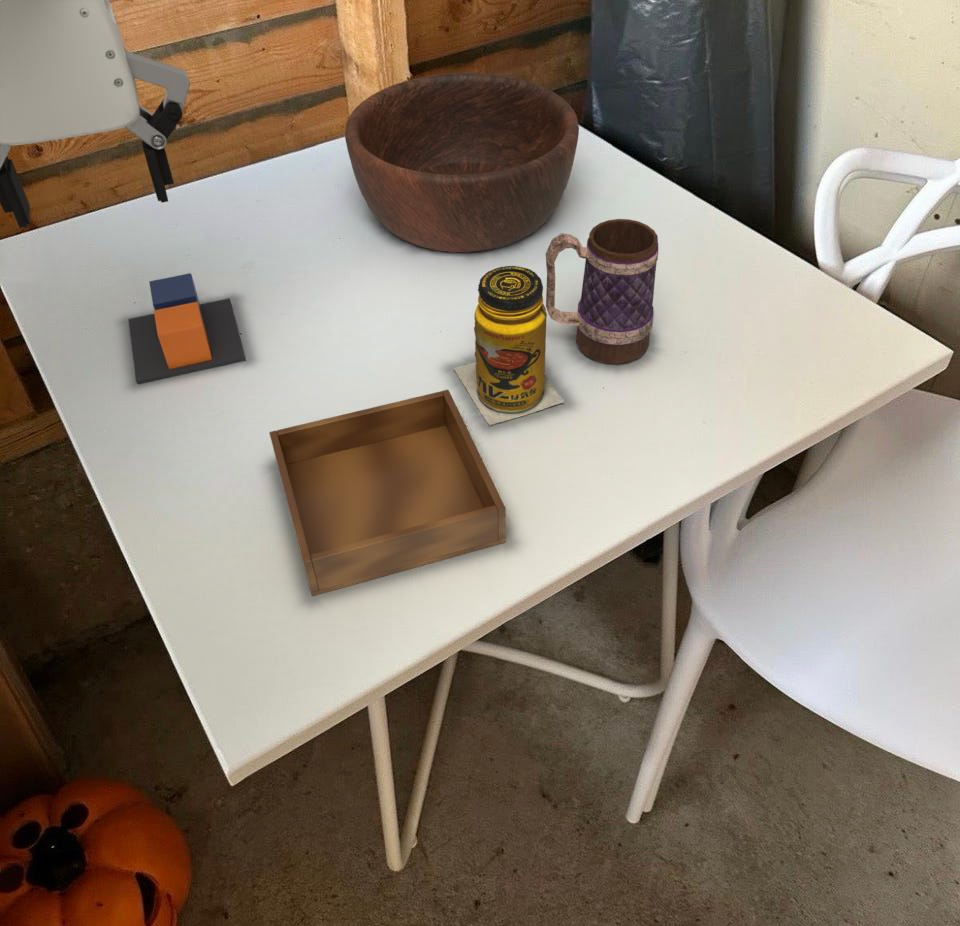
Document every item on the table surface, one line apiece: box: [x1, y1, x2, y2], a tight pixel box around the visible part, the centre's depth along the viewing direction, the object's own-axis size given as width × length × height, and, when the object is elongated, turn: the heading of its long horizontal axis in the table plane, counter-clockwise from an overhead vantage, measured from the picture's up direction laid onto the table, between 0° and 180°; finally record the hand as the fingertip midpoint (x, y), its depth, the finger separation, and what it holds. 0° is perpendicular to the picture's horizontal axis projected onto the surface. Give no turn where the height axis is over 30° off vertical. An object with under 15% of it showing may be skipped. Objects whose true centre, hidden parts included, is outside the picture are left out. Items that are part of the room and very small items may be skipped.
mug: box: [545, 218, 659, 365], centre depth 84 cm, size 10×7×12 cm
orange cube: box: [153, 302, 212, 369], centre depth 86 cm, size 4×4×4 cm
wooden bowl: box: [344, 72, 580, 253], centre depth 102 cm, size 25×25×10 cm
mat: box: [128, 297, 246, 385], centre depth 90 cm, size 10×10×1 cm
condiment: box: [453, 265, 565, 426], centre depth 80 cm, size 7×8×12 cm
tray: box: [269, 389, 507, 597], centre depth 73 cm, size 15×14×4 cm
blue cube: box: [149, 272, 205, 326], centre depth 90 cm, size 4×4×4 cm
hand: (94, 205), depth 68 cm, fingers open, 9 cm apart
